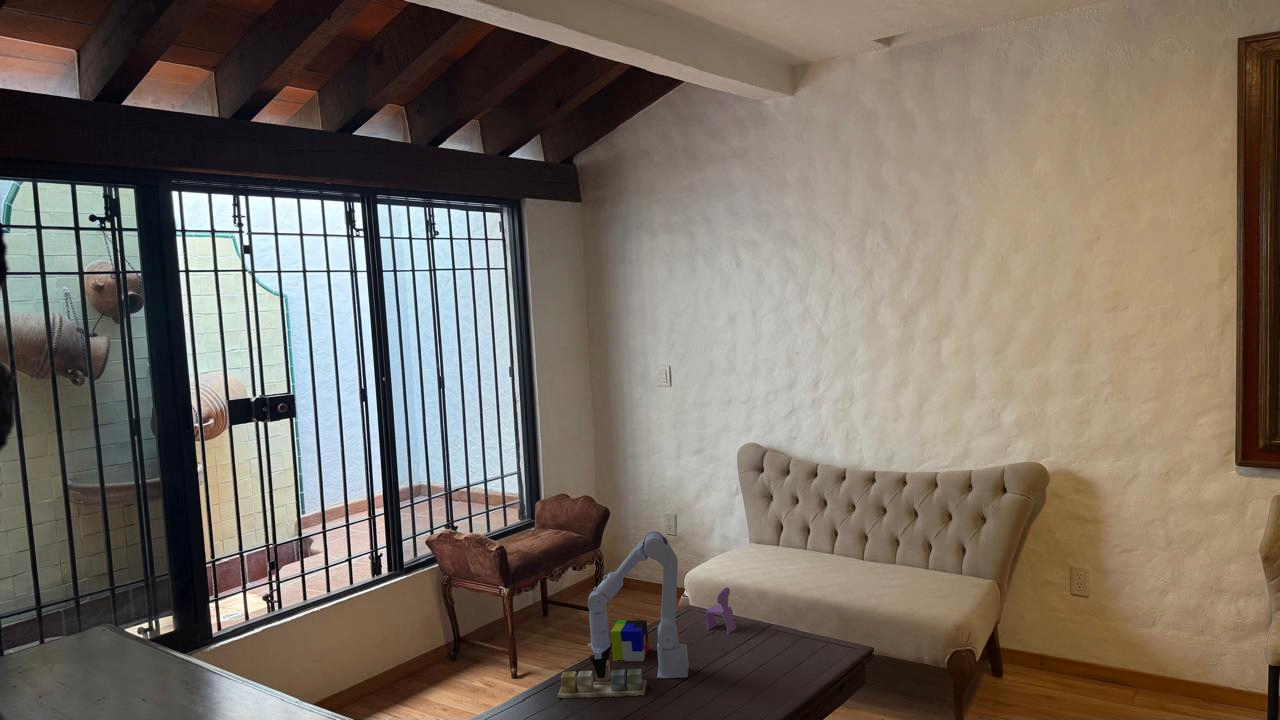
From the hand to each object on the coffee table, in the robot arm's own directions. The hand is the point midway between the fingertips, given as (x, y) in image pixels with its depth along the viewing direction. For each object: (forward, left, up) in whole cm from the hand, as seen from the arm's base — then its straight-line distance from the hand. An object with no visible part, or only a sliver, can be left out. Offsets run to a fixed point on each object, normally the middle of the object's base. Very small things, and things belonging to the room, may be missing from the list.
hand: (602, 672), depth 276 cm
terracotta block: (0, 0, -2) cm, 2 cm away
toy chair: (-37, -38, -2) cm, 53 cm away
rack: (-1, +9, -2) cm, 10 cm away
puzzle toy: (-7, -18, -2) cm, 19 cm away
